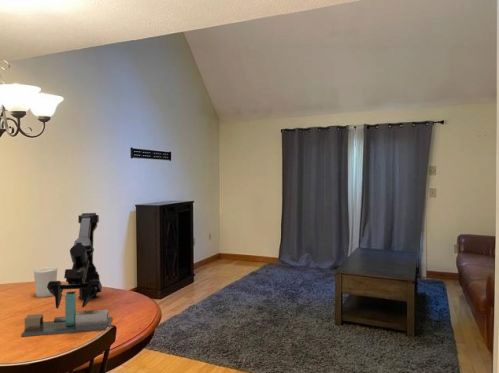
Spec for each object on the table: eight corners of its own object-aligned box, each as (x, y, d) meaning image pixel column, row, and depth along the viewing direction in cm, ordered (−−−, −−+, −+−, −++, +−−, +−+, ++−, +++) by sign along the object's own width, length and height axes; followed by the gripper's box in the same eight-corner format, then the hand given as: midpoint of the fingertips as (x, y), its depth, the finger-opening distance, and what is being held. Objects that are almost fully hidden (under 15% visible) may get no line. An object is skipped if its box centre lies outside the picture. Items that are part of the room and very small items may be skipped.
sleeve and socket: (112, 319, 147) (112, 306, 147) (108, 329, 138) (108, 315, 137) (31, 325, 141) (31, 312, 141) (21, 336, 131) (21, 322, 131)
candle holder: (62, 292, 180) (62, 267, 180) (45, 298, 171) (44, 272, 170) (46, 290, 183) (46, 266, 183) (29, 296, 174) (28, 270, 173)
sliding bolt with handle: (107, 319, 144) (106, 289, 143) (105, 322, 141) (105, 292, 140) (56, 323, 140) (55, 292, 139) (53, 326, 137) (53, 295, 136)
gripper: (48, 260, 142) (36, 298, 131) (99, 258, 144) (91, 296, 134) (56, 275, 150) (45, 312, 139) (105, 273, 152) (97, 310, 142)
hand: (70, 307), depth 138 cm, fingers open, 9 cm apart
